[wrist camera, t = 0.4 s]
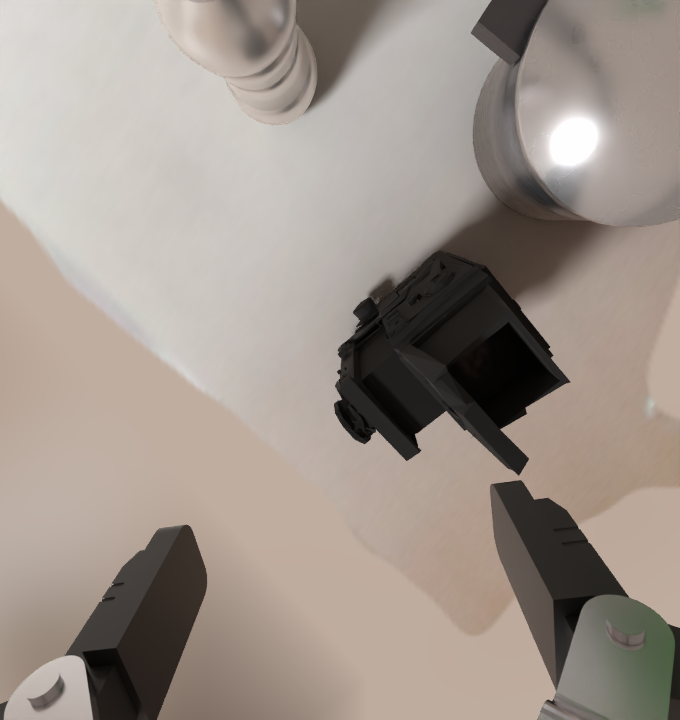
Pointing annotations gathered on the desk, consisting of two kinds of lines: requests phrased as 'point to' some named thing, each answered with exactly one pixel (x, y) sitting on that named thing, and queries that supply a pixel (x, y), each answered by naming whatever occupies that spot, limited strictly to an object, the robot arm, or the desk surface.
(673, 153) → the pot
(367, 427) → the camera
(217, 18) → the plastic bottle
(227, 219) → the desk surface
